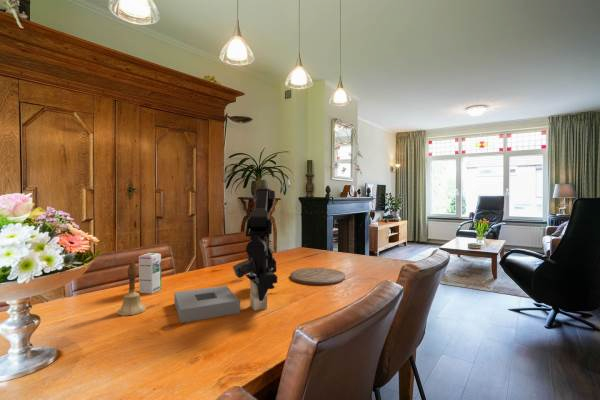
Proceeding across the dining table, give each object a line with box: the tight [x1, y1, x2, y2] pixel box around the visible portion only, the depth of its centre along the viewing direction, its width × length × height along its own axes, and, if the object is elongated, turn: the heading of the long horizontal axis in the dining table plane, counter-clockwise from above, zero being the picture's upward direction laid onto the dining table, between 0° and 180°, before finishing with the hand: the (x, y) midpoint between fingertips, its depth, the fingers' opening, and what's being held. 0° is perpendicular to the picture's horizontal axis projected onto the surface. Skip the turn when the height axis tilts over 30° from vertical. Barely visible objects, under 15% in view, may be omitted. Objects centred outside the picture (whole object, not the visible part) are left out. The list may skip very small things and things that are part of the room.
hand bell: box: [116, 261, 147, 317], centre depth 102 cm, size 8×8×16 cm
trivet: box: [289, 267, 346, 286], centre depth 144 cm, size 25×25×2 cm
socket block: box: [173, 285, 241, 324], centre depth 105 cm, size 18×18×4 cm
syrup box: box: [138, 252, 163, 294], centre depth 122 cm, size 6×6×14 cm
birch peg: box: [249, 279, 268, 312], centre depth 106 cm, size 4×4×9 cm
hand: (258, 298), depth 106 cm, fingers closed on birch peg, 4 cm apart
